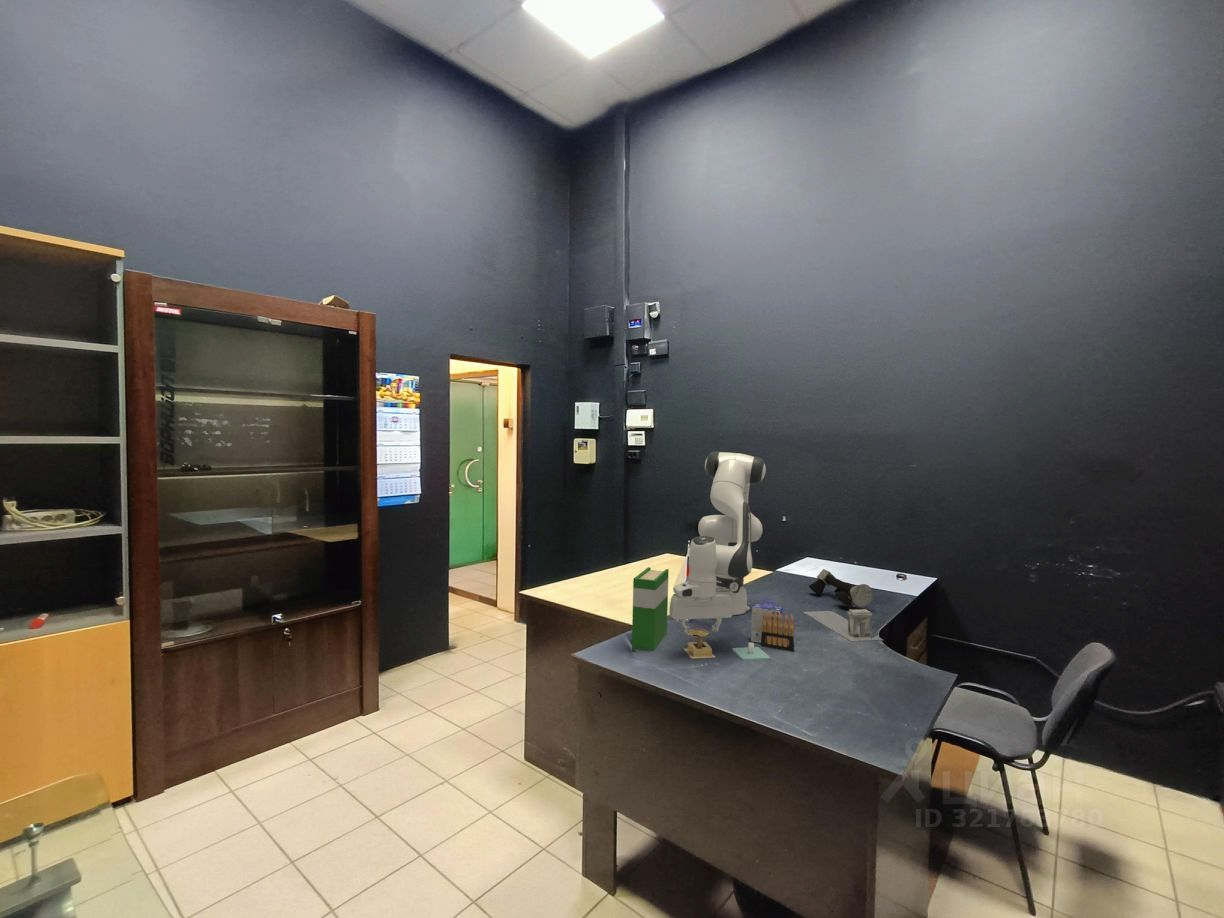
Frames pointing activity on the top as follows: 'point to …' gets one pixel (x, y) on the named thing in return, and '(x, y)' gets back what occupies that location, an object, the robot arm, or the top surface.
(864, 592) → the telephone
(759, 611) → the ink cartridge box
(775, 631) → the ammunition clip
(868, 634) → the triumphal arch model
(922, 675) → the top surface
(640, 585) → the hardback book
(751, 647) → the mint green base plate
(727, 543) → the robot arm
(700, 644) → the stand
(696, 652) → the tan tray
